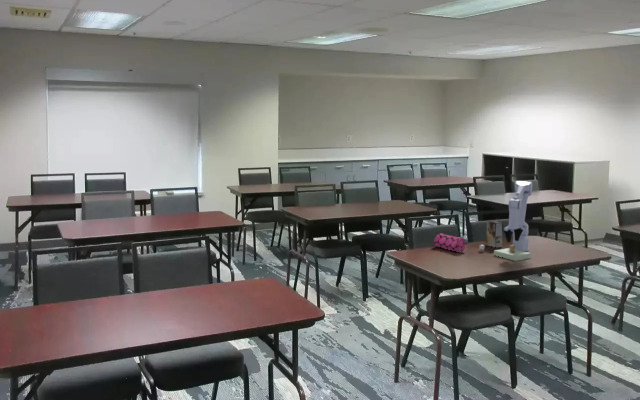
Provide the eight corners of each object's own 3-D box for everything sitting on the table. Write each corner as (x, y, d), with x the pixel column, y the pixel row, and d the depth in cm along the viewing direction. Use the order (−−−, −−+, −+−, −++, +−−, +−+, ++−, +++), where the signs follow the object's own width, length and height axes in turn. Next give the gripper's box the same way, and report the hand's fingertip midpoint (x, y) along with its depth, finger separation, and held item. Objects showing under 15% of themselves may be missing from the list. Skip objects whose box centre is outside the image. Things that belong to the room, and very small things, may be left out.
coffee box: (502, 247, 370) (503, 222, 368) (494, 247, 368) (496, 223, 365) (492, 244, 379) (494, 220, 376) (485, 245, 376) (486, 221, 374)
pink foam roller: (467, 252, 355) (468, 236, 354) (457, 254, 349) (458, 238, 348) (441, 245, 372) (442, 230, 371) (431, 247, 366) (432, 232, 365)
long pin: (511, 255, 346) (512, 244, 345) (515, 256, 343) (516, 245, 342) (508, 256, 344) (508, 245, 343) (512, 257, 341) (512, 246, 341)
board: (508, 252, 354) (508, 248, 353) (530, 258, 341) (530, 253, 340) (493, 255, 346) (493, 250, 346) (515, 260, 333) (515, 255, 333)
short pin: (481, 250, 358) (481, 244, 358) (485, 251, 356) (485, 245, 355) (478, 251, 357) (478, 245, 356) (481, 252, 354) (482, 246, 354)
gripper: (516, 217, 348) (514, 238, 350) (500, 219, 340) (499, 241, 342) (525, 218, 342) (524, 241, 344) (510, 221, 334) (509, 243, 336)
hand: (512, 241), depth 342 cm, fingers open, 7 cm apart
